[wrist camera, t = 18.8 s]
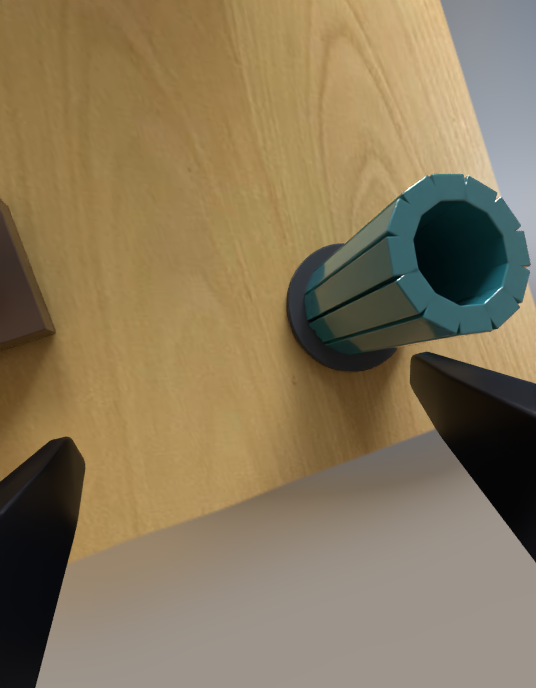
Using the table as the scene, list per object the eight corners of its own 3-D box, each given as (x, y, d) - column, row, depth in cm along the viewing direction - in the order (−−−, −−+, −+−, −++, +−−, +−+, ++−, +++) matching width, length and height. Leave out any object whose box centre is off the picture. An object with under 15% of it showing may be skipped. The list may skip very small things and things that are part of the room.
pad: (394, 383, 25) (399, 383, 24) (274, 355, 23) (276, 355, 22) (411, 265, 26) (416, 263, 26) (299, 230, 24) (302, 227, 24)
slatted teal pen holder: (345, 374, 23) (457, 367, 14) (284, 292, 23) (356, 225, 13) (412, 316, 25) (555, 273, 15) (357, 239, 25) (467, 145, 15)
